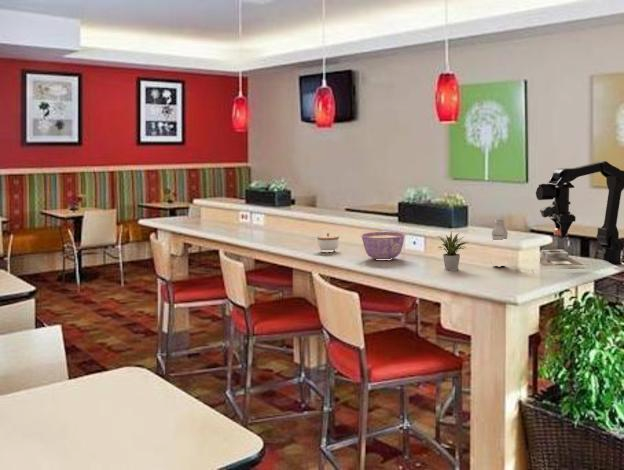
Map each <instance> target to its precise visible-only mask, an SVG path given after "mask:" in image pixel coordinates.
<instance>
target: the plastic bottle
mask: <svg viewBox="0 0 624 470" xmlns="http://www.w3.org/2000/svg"><path fill="white" fill-rule="evenodd" d="M494 225H495V226H494V227H493V229H492V230H491V238H492V239H493V240H503V239H507V240H508V230H507V228H506V227H505V220H504V219H495V220H494ZM493 240H492V241H493Z"/></svg>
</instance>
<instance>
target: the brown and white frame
mask: <svg viewBox="0 0 624 470" xmlns="http://www.w3.org/2000/svg"><path fill="white" fill-rule="evenodd" d="M540 252H541V253H540V256H541V257H539V258H540V263H539V264H541V265H543V266H583V265H584V264H583V263H582V262H580V261H577V260H576V259H574V258H572V257H570V256H569V252H567V251H566V250H565V249H541V251H540ZM563 269H570V267H568V268H566V267H565V268H564V267H563V268H562V270H563Z"/></svg>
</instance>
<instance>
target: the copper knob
mask: <svg viewBox="0 0 624 470" xmlns="http://www.w3.org/2000/svg"><path fill="white" fill-rule="evenodd" d="M553 235H554V236H556V250H565V249H566V236H569V231H568V232H567V234H566V236H565V237H563V238H562V236H561V229H560V227H559V228H556V227H555V228H553Z"/></svg>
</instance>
